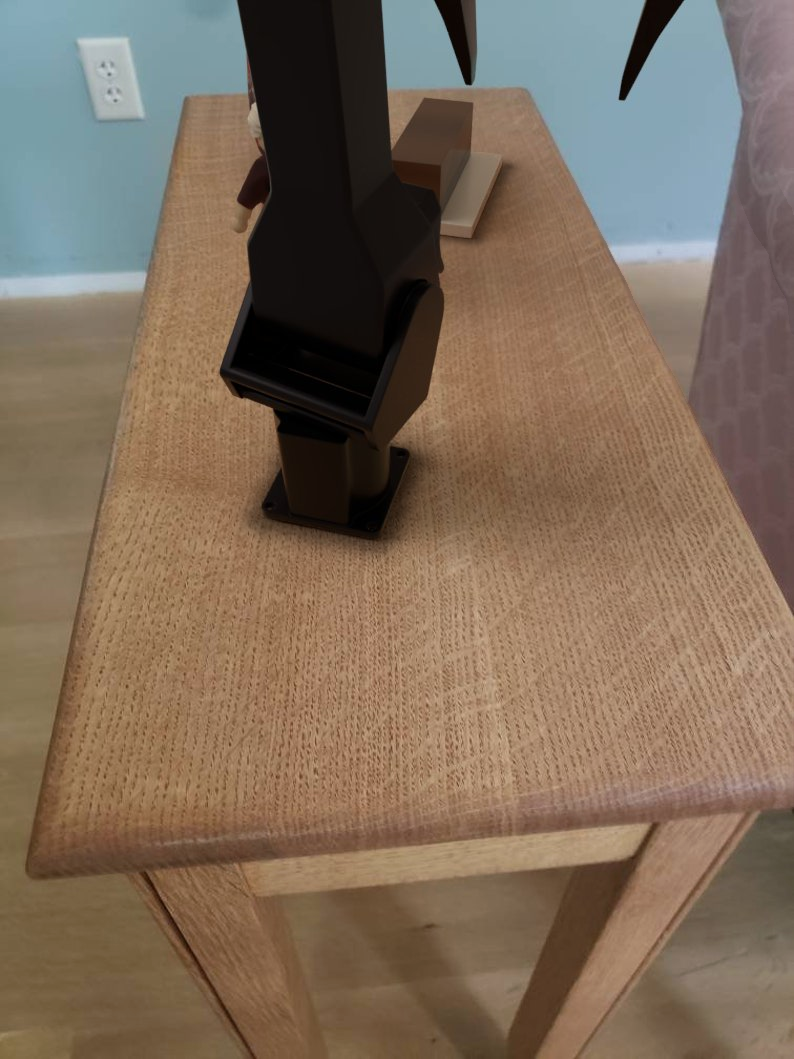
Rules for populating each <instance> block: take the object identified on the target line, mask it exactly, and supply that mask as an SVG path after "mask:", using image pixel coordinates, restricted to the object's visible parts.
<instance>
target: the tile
mask: <svg viewBox="0 0 794 1059" xmlns="http://www.w3.org/2000/svg"><path fill="white" fill-rule="evenodd" d="M503 158H504V157H503V154H500V153H491V152H485V151H484V152H482V151H473V150H471V155H470V157H469V160H468V162H467V164H466V166H465V168H464V170H463V172H462V174H461V176H460V178H459V180H458V183H457V185H456V187H455V189H454V191H453V193H452V195H451V197H450V199H449V201H448V203H447V206H446V208H445V210H444V212H443V214H442V216H441V229H440V236H441V235H442V236H449V237H457V238H463V239H472V237H473V235H474V233H475V230H476V228H477V226H478V223H479V221H480V219H481V217H482V214H483V212H484V209H485V206H486V204H487V202H488V200H489V198H490V195H491V192H492V191H493V187H494V185H495V183H496V181H497V178H498V176H499V173H500V171H501V168H502V166H503Z"/></svg>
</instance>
